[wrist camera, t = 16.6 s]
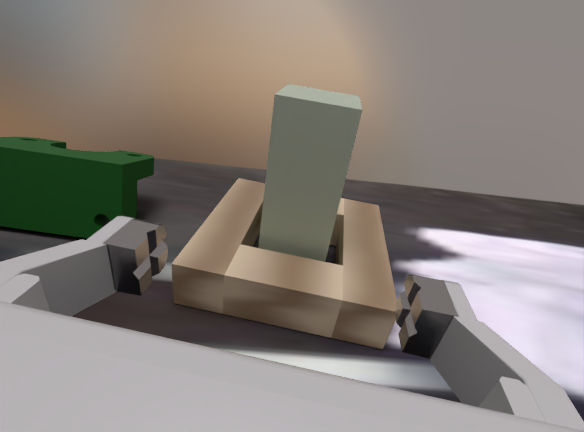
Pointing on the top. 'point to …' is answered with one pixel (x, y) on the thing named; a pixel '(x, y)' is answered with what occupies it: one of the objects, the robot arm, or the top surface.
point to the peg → (307, 169)
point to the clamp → (66, 186)
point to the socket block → (290, 272)
